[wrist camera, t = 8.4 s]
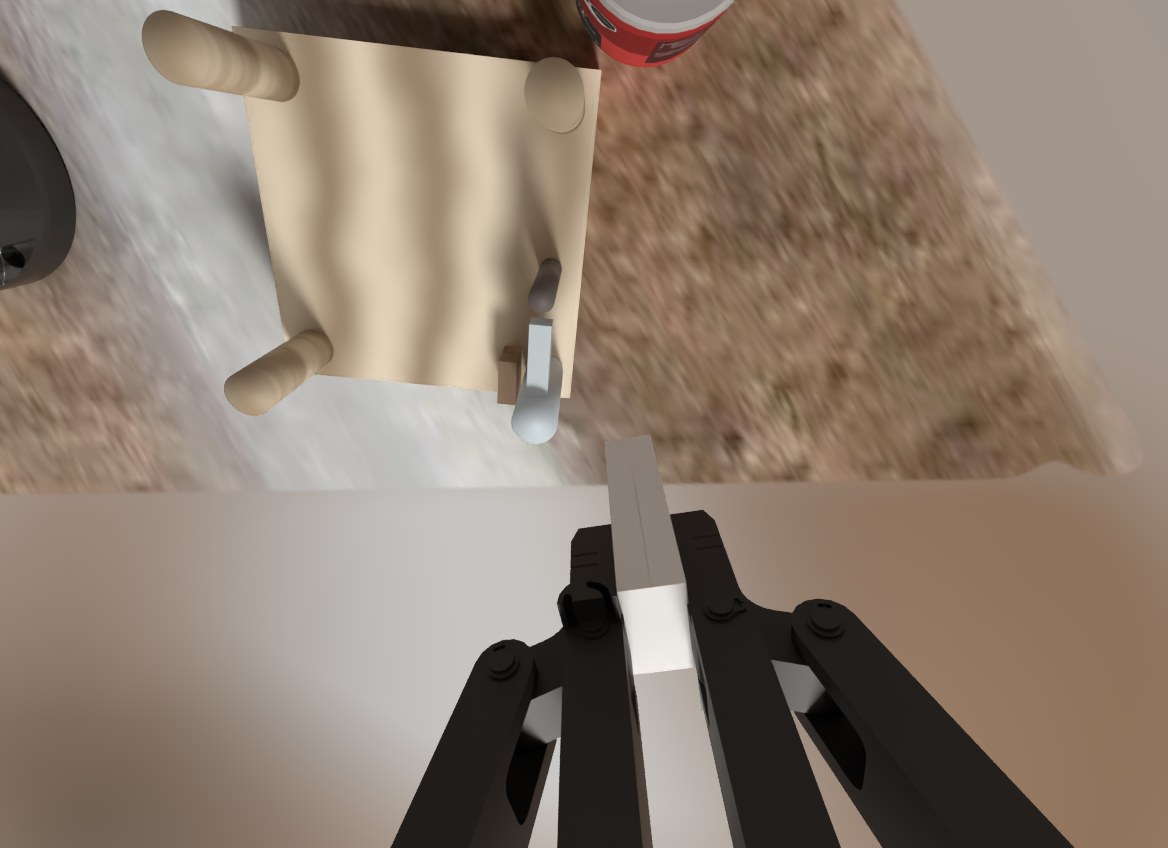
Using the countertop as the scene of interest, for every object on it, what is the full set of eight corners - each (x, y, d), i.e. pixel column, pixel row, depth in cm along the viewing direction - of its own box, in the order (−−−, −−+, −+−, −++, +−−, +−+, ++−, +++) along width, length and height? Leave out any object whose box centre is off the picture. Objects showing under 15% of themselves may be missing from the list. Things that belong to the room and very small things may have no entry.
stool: (306, 359, 39) (219, 423, 30) (257, 35, 30) (110, -18, 21) (570, 384, 40) (565, 454, 31) (600, 76, 31) (605, 42, 22)
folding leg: (525, 387, 37) (510, 441, 30) (529, 291, 34) (514, 327, 27) (561, 390, 37) (555, 445, 30) (569, 295, 34) (564, 332, 27)
